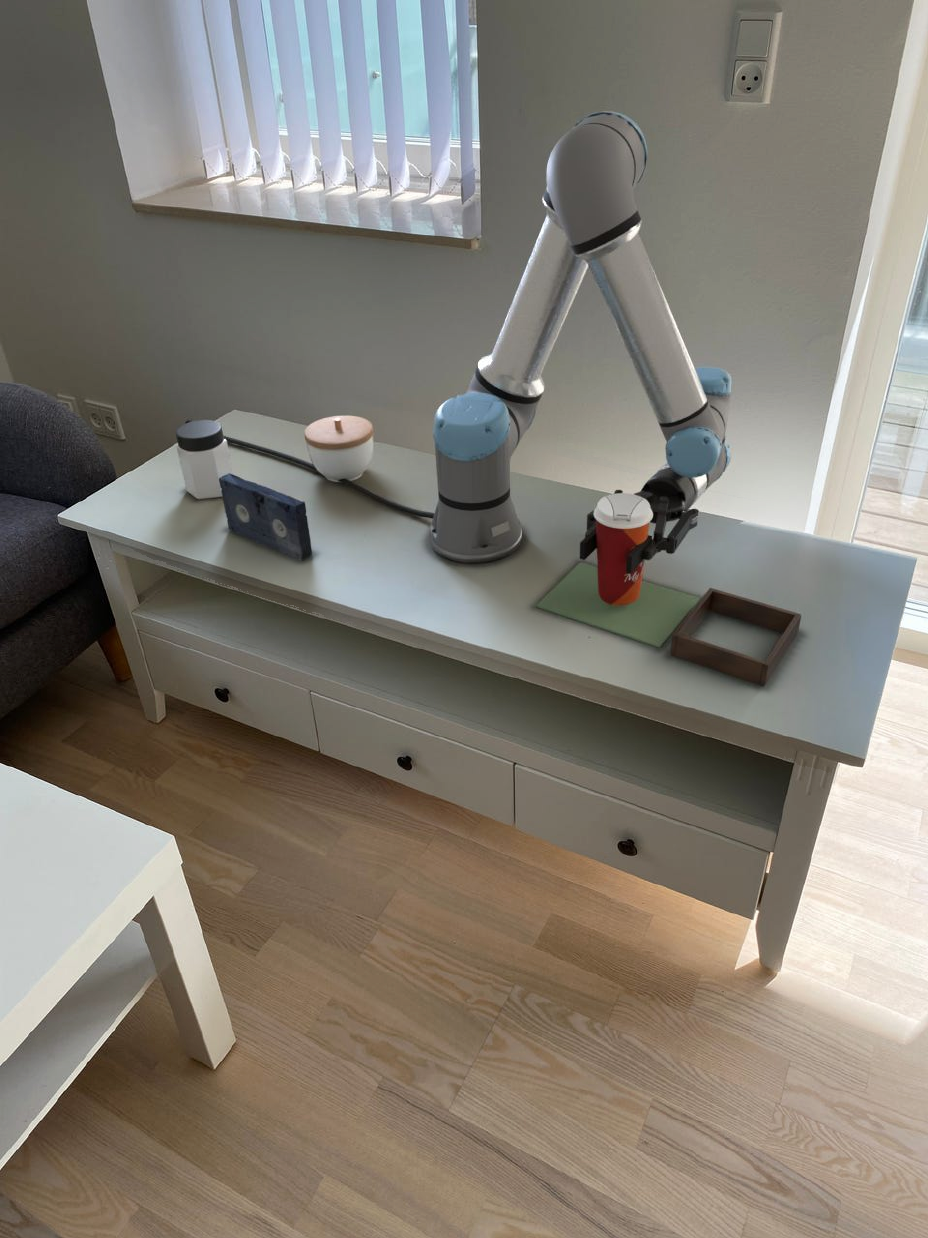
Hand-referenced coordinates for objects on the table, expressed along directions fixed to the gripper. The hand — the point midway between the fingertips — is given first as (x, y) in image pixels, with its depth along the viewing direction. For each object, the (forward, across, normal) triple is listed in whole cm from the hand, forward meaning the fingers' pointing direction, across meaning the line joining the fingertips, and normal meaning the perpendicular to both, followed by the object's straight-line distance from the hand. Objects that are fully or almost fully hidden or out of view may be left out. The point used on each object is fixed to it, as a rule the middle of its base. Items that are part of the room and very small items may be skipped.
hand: (605, 557), depth 136 cm
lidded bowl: (-18, +64, -11) cm, 67 cm away
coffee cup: (-5, 0, -9) cm, 10 cm away
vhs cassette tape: (+8, +58, -11) cm, 60 cm away
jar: (-1, +82, -10) cm, 82 cm away
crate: (-4, -18, -11) cm, 22 cm away
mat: (-5, 0, -11) cm, 12 cm away
